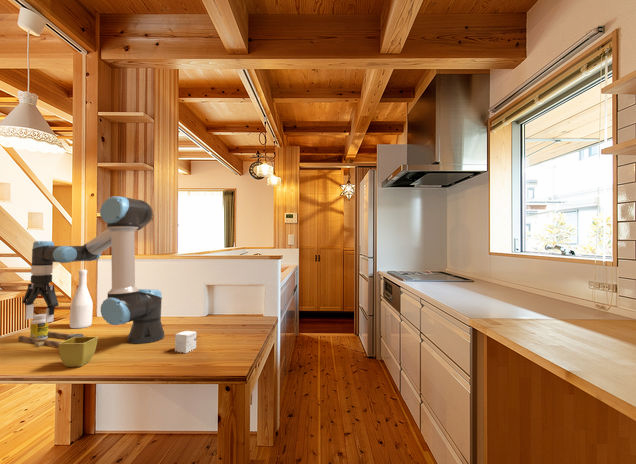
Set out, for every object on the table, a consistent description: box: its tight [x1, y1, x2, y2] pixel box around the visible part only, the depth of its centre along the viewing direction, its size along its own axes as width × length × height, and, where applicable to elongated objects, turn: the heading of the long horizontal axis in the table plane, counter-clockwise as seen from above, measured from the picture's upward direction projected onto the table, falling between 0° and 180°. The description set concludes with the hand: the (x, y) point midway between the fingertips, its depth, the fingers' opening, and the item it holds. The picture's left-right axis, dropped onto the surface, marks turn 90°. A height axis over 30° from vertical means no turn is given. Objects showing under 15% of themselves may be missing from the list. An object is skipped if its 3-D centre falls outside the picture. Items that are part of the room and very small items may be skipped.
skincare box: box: [174, 330, 197, 354], centre depth 135 cm, size 6×6×7 cm
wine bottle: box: [69, 269, 94, 329], centre depth 170 cm, size 10×10×30 cm
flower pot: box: [58, 336, 99, 368], centre depth 118 cm, size 9×9×9 cm
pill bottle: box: [29, 313, 50, 340], centre depth 147 cm, size 6×6×11 cm
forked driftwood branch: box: [17, 330, 88, 348], centre depth 144 cm, size 32×15×4 cm, turn 73°
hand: (39, 320), depth 147 cm, fingers open, 13 cm apart
